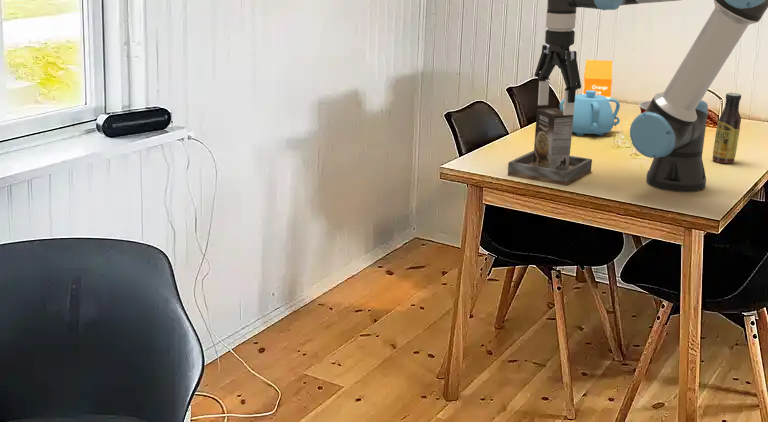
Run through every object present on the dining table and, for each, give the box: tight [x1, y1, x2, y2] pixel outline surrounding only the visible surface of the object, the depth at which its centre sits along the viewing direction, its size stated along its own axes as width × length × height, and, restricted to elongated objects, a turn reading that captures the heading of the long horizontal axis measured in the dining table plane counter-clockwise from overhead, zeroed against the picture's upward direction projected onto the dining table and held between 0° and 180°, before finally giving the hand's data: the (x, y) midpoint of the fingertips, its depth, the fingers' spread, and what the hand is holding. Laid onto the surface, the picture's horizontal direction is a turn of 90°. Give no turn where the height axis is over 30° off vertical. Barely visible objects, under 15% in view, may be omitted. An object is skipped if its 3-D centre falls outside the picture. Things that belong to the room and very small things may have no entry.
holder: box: [507, 150, 593, 186], centre depth 271 cm, size 17×17×4 cm
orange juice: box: [582, 59, 613, 104], centre depth 336 cm, size 8×9×20 cm
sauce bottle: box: [712, 92, 742, 165], centre depth 284 cm, size 6×6×20 cm
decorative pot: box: [559, 90, 621, 137], centre depth 317 cm, size 16×16×14 cm
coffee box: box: [533, 107, 573, 171], centre depth 269 cm, size 9×6×16 cm
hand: (555, 109), depth 266 cm, fingers open, 13 cm apart
